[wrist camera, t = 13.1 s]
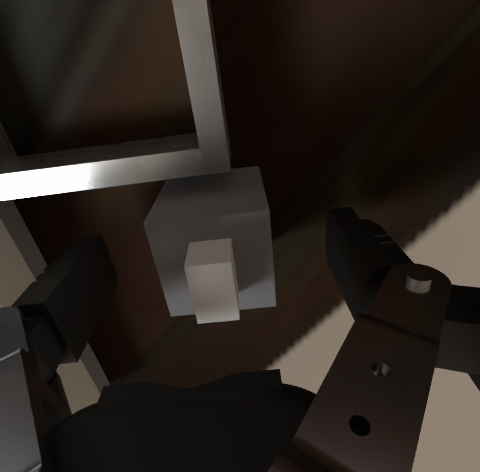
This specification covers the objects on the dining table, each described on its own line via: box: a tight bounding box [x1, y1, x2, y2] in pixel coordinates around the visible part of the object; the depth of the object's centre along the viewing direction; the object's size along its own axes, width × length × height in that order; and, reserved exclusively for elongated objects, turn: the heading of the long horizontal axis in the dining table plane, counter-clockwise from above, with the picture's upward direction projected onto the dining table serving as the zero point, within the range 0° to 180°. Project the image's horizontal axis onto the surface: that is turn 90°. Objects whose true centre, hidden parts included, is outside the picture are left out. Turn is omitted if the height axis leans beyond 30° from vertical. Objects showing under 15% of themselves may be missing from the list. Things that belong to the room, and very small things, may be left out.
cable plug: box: [143, 166, 276, 324], centre depth 11 cm, size 4×4×5 cm
